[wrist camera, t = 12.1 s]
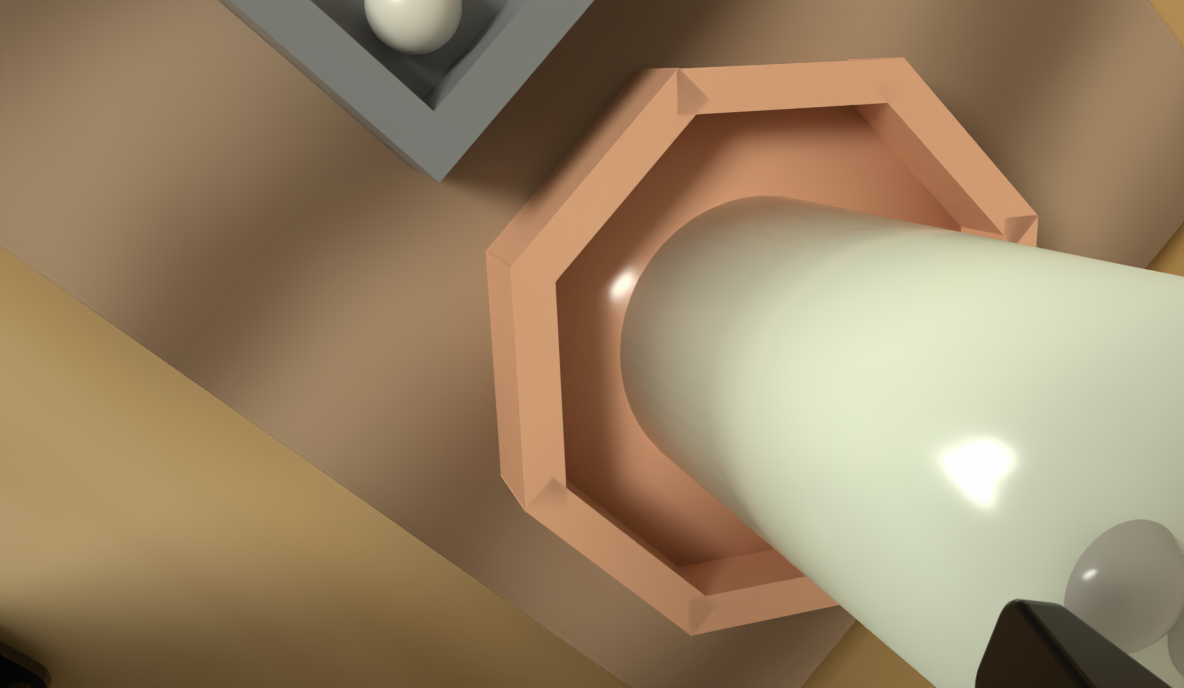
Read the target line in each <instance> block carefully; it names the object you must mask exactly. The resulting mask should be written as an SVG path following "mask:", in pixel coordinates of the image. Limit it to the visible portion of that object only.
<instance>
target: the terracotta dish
mask: <svg viewBox="0 0 1184 688" xmlns="http://www.w3.org/2000/svg"><path fill="white" fill-rule="evenodd" d="M762 195H765V196H783V197H788V198H794V199H799V200H804V201H809V202H814V203H819V204H824V205H829V206H834V207H839V208H844V209H849V210H854V211H859V212H863V213H868V214H873V215H878V216H883V217H888V218H893V219H898V220H903V221H908V222H913V223H918V224H923V225H928V226H933V227H938V228H943V229H948V230H953V231H958V232H963V233H968V234H973V235H978V236H983V237H988V238H993V239H998V240H1003V241H1008V242H1013V243H1018V244H1023V245H1028V246H1033V247H1036V245H1037V228H1038V217H1039V216H1038V215H1037V214H1036V213H1035V211H1034V210H1033V209H1032V208H1031V207H1030V206H1029V204H1028V203H1027V202H1026V201H1025V200H1024V199H1023V197H1022V196H1021V195H1020V194H1019V193H1018V191H1017V190H1016V189H1015V188H1014V187H1013V186H1012V184H1011V183H1010V182H1009V181H1008V180H1007V179H1006V177H1005V176H1004V175H1003V174H1002V173H1001V171H1000V170H999V169H998V168H997V167H996V166H995V164H994V163H993V162H992V161H991V160H990V158H989V157H988V156H987V155H986V154H985V153H984V151H983V150H982V149H981V148H980V147H979V146H978V144H977V143H976V142H975V141H974V140H973V138H972V137H971V136H970V135H969V134H968V133H967V131H966V130H965V129H964V128H963V127H962V126H961V124H960V123H959V122H958V121H957V120H956V118H955V117H954V116H953V115H952V114H951V113H950V111H949V110H948V109H947V108H946V107H945V106H944V104H943V103H942V102H941V101H940V100H939V98H938V97H937V96H936V95H935V94H934V93H933V91H932V90H931V89H930V88H929V87H928V85H927V84H926V83H925V82H924V81H923V80H922V78H921V77H920V76H919V75H918V74H917V73H916V71H915V70H914V69H913V68H912V67H911V65H910V64H909V63H908V62H907V61H906V60H905V58H904V57H899V58H872V59H848V60H841V61H820V62H799V63H777V64H756V65H734V66H713V67H691V68H657V69H639V70H637V72H636V74H635V75H634V76H633V77H632V78H631V79H630V81H629V82H628V83H627V84H626V85H625V87H624V88H623V89H622V90H621V91H620V92H619V94H618V95H617V96H616V97H615V98H614V100H613V101H612V102H611V103H610V104H609V106H608V107H607V108H606V109H605V110H604V111H603V113H602V114H601V115H600V116H599V117H598V119H597V120H596V121H595V122H594V123H593V124H592V126H591V127H590V128H589V129H588V130H587V132H586V133H585V134H584V135H583V136H582V138H581V139H580V140H579V141H578V142H577V143H576V145H575V146H574V147H573V148H572V149H571V151H570V152H569V153H568V154H567V155H566V156H565V158H564V159H563V160H562V161H561V162H560V164H559V165H558V166H557V167H556V168H555V170H554V171H553V172H552V173H551V174H550V175H549V177H548V178H547V179H546V180H545V181H544V183H543V184H542V185H541V186H540V187H539V188H538V190H537V191H536V192H535V193H534V194H533V196H532V197H531V198H530V199H529V200H528V202H527V203H526V204H525V205H524V206H523V207H522V209H521V210H520V211H519V212H518V213H517V215H516V216H515V217H514V218H513V219H512V220H511V222H510V223H509V224H508V225H507V226H506V228H505V229H504V230H503V231H502V232H501V234H500V235H499V236H498V237H497V238H496V239H495V241H494V242H493V243H492V244H491V245H490V247H489V248H488V249H487V250H486V251H485V253H486V265H487V279H488V294H489V308H490V323H491V338H492V352H493V367H494V382H495V396H496V411H497V425H498V440H499V455H500V469H501V474H500V475H501V477H502V478H503V480H504V481H505V483H506V484H507V486H508V487H509V489H510V490H511V492H512V493H513V495H514V496H515V498H516V499H517V501H518V502H519V503H520V505H521V506H522V508H523V509H524V511H525V512H527V513H528V514H530V515H531V516H532V517H534V518H535V519H536V520H538V521H539V522H540V523H542V524H543V525H544V526H546V527H547V528H548V529H550V530H551V531H552V532H554V533H555V534H556V535H558V536H559V537H560V538H562V539H563V540H564V541H566V542H567V543H568V544H570V545H571V546H572V547H574V548H575V549H576V550H578V551H579V552H580V553H582V554H583V555H584V556H586V557H587V558H588V559H590V560H591V561H592V562H594V563H595V564H596V565H598V566H599V567H600V568H602V569H603V570H604V571H606V572H607V573H608V574H610V575H611V576H612V577H614V578H615V579H616V580H618V581H619V582H620V583H622V584H623V585H624V586H626V587H627V588H628V589H630V590H631V591H632V592H634V593H635V594H636V595H638V596H639V597H640V598H642V599H643V600H644V601H646V602H647V603H648V604H650V605H651V606H652V607H654V608H655V609H656V610H658V611H659V612H660V613H662V614H663V615H664V616H666V617H667V618H668V619H670V620H671V621H672V622H674V623H675V624H676V625H678V626H679V627H680V628H682V629H683V630H684V631H686V632H687V633H688V634H689V635H690V636H692V635H696V634H701V633H706V632H711V631H716V630H721V629H725V628H730V627H735V626H740V625H745V624H750V623H754V622H759V621H764V620H769V619H774V618H778V617H783V616H788V615H793V614H798V613H803V612H807V611H812V610H817V609H822V608H827V607H832V606H836V605H839V604H838V603H837V602H836V601H835V600H833V599H832V598H831V597H830V596H829V595H828V594H826V593H825V592H824V591H823V590H822V589H821V588H819V587H818V586H817V585H816V584H815V583H814V582H812V581H811V580H810V579H809V578H808V577H807V576H805V575H804V574H803V573H802V572H801V571H800V570H798V569H797V568H796V567H795V566H794V565H793V564H791V563H790V562H789V561H788V560H787V559H786V558H784V557H783V556H782V555H781V554H780V553H779V552H777V551H776V550H775V549H774V548H773V547H772V546H770V545H769V544H768V543H767V542H766V541H765V540H763V539H762V538H761V537H760V536H759V535H758V534H756V533H755V532H754V531H753V530H752V529H751V528H749V527H748V526H747V525H746V524H745V523H744V522H742V521H741V520H740V519H739V518H738V517H737V516H735V515H734V514H733V513H732V512H731V511H730V510H728V509H727V508H726V507H725V506H724V505H723V504H721V503H720V502H719V501H718V500H717V499H716V498H714V497H713V496H712V495H711V494H710V493H709V492H707V491H706V490H705V489H704V488H703V487H702V486H700V485H699V484H698V483H697V482H696V481H695V480H693V479H692V478H691V477H690V476H689V475H687V474H686V473H685V472H684V471H683V470H682V469H680V468H679V467H678V466H677V465H676V464H675V463H673V462H672V461H671V460H670V459H669V458H668V457H666V456H665V455H664V454H663V453H662V452H661V451H660V450H659V449H658V448H657V447H656V446H655V445H654V444H653V443H652V442H651V441H650V440H649V439H648V437H647V436H646V434H645V433H644V431H643V430H642V429H641V427H640V426H639V424H638V422H637V420H636V418H635V416H634V414H633V412H632V410H631V408H630V406H629V403H628V400H627V397H626V394H625V391H624V386H623V380H622V375H621V365H620V343H621V332H622V327H623V322H624V316H625V313H626V309H627V306H628V303H629V300H630V297H631V294H632V292H633V290H634V288H635V286H636V284H637V282H638V279H639V277H640V276H641V274H642V272H643V271H644V269H645V267H646V266H647V264H648V263H649V261H650V260H651V258H652V257H653V256H654V255H655V253H656V252H657V251H658V250H659V248H660V247H661V246H662V245H663V244H664V243H665V242H666V241H667V240H668V239H669V238H670V237H671V236H672V235H673V234H674V233H675V232H676V231H677V230H678V229H680V228H681V227H682V226H684V225H685V224H686V223H688V222H689V221H690V220H692V219H693V218H695V217H696V216H698V215H700V214H702V213H703V212H705V211H707V210H709V209H711V208H713V207H716V206H718V205H721V204H723V203H726V202H729V201H733V200H737V199H741V198H745V197H753V196H762Z"/></svg>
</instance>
